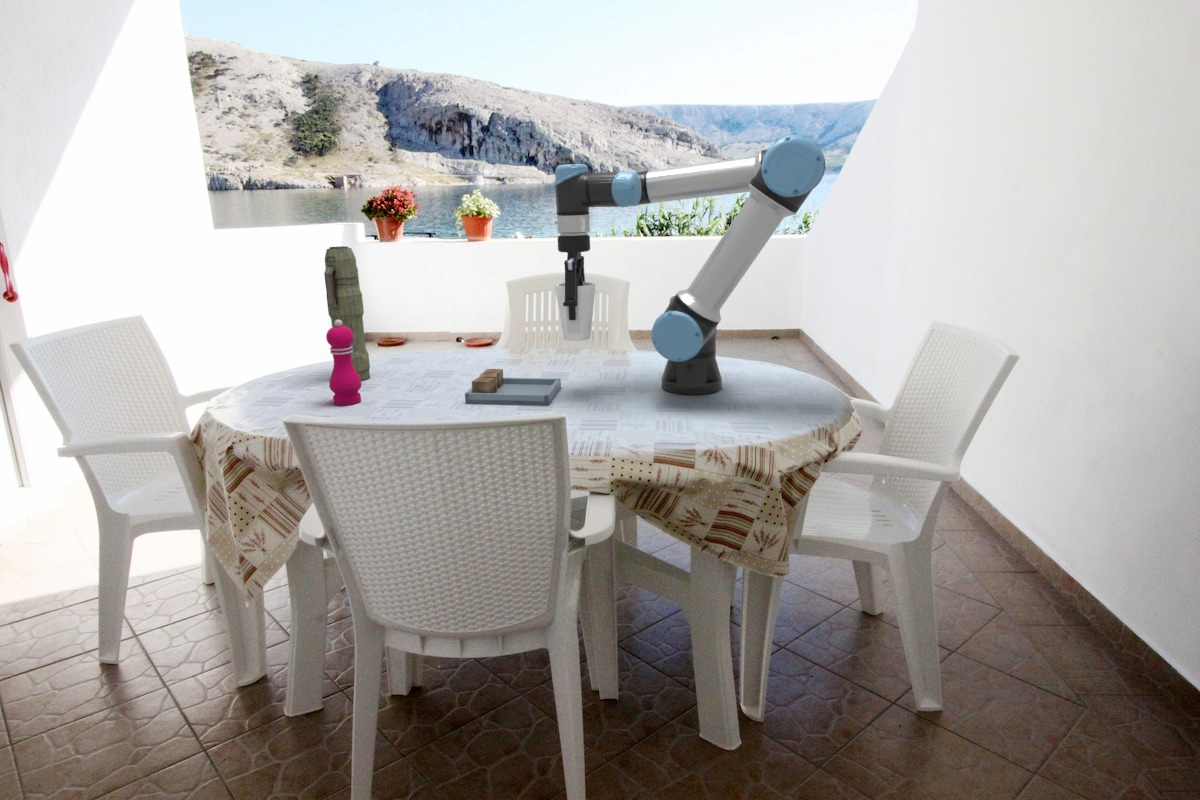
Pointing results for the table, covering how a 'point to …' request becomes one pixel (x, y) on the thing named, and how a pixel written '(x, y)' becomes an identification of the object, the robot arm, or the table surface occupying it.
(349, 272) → the carved stone statue
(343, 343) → the pepper mill
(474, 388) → the block
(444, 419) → the table surface
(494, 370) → the block
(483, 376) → the block
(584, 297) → the foam cup
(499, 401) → the tray
